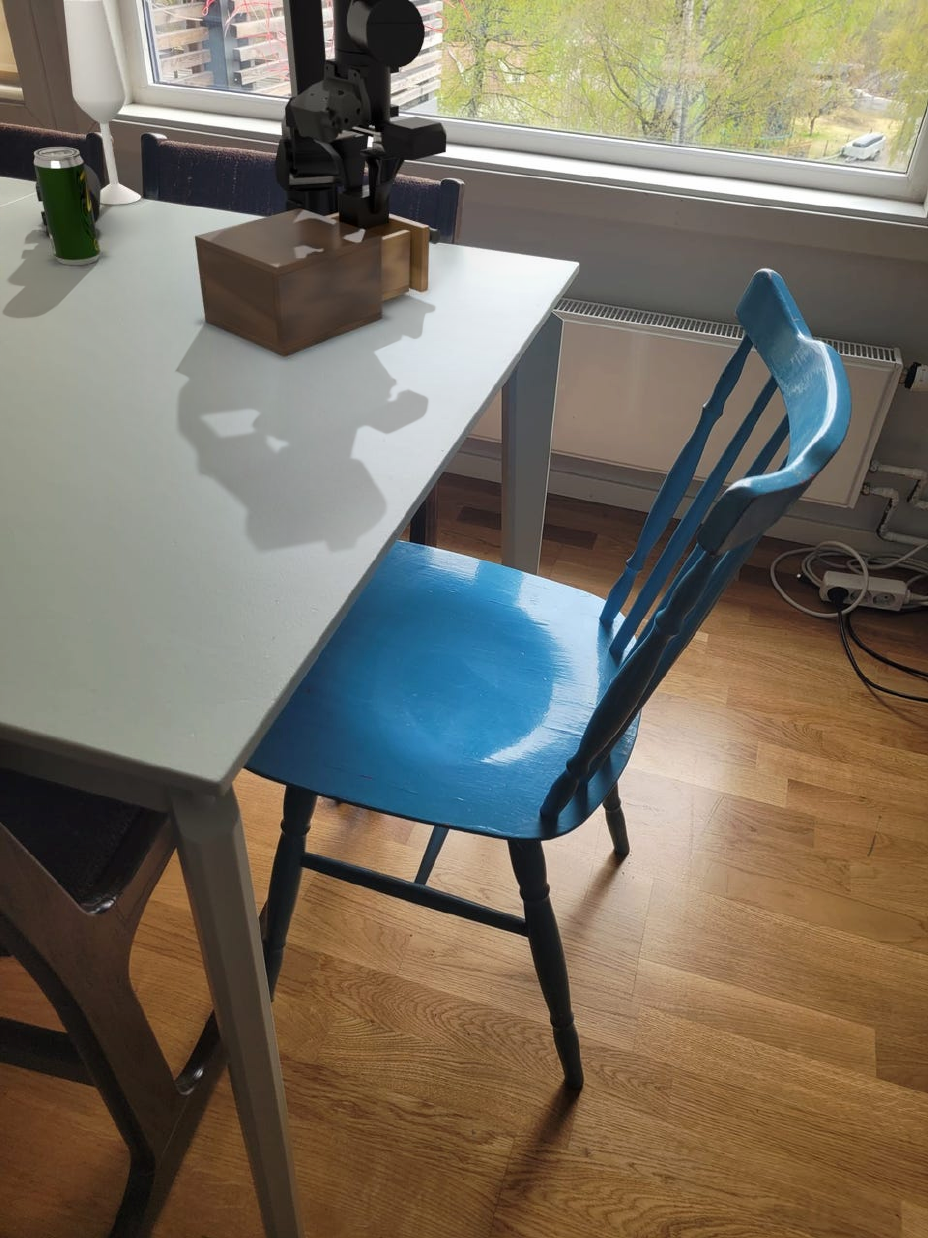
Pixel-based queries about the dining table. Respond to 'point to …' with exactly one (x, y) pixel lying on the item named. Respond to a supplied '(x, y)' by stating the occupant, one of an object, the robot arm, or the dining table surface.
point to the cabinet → (290, 279)
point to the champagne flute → (97, 81)
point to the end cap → (93, 191)
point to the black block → (361, 209)
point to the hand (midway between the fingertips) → (364, 209)
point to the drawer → (403, 254)
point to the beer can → (67, 205)
